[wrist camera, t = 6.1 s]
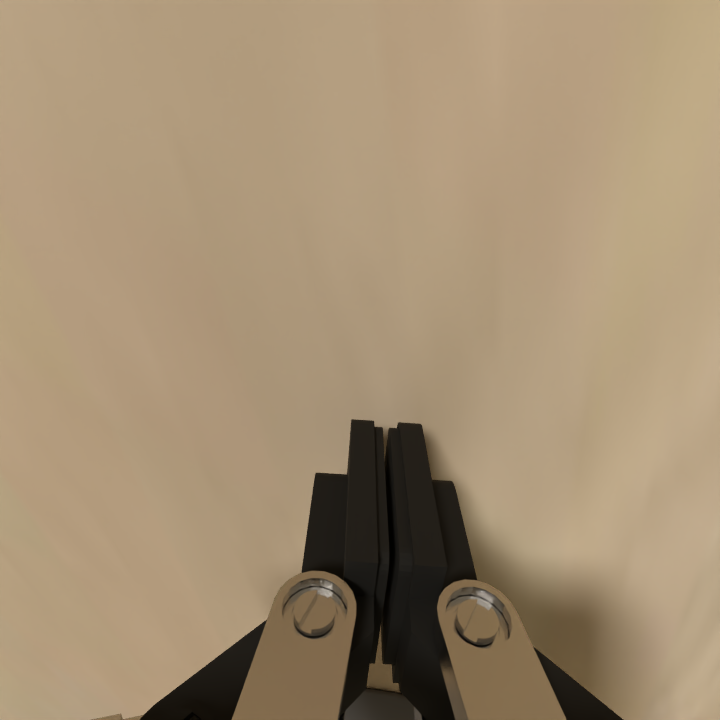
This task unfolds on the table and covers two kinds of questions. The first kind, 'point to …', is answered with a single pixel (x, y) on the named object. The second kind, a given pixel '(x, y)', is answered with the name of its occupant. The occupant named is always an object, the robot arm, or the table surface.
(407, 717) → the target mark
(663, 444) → the table surface
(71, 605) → the table surface
